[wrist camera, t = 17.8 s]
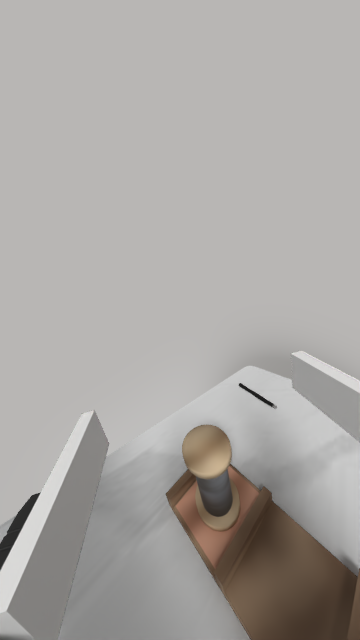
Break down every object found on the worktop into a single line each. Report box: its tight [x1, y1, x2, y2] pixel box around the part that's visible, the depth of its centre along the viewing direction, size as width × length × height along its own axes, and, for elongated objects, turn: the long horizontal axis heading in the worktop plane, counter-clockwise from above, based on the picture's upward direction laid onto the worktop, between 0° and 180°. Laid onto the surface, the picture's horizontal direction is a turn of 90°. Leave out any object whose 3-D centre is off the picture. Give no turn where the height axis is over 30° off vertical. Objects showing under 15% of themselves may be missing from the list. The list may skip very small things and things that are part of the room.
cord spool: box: [182, 425, 240, 532], centre depth 27 cm, size 7×7×12 cm
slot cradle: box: [166, 464, 360, 640], centre depth 24 cm, size 23×12×3 cm, turn 39°
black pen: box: [239, 383, 277, 409], centre depth 49 cm, size 12×1×1 cm, turn 28°
